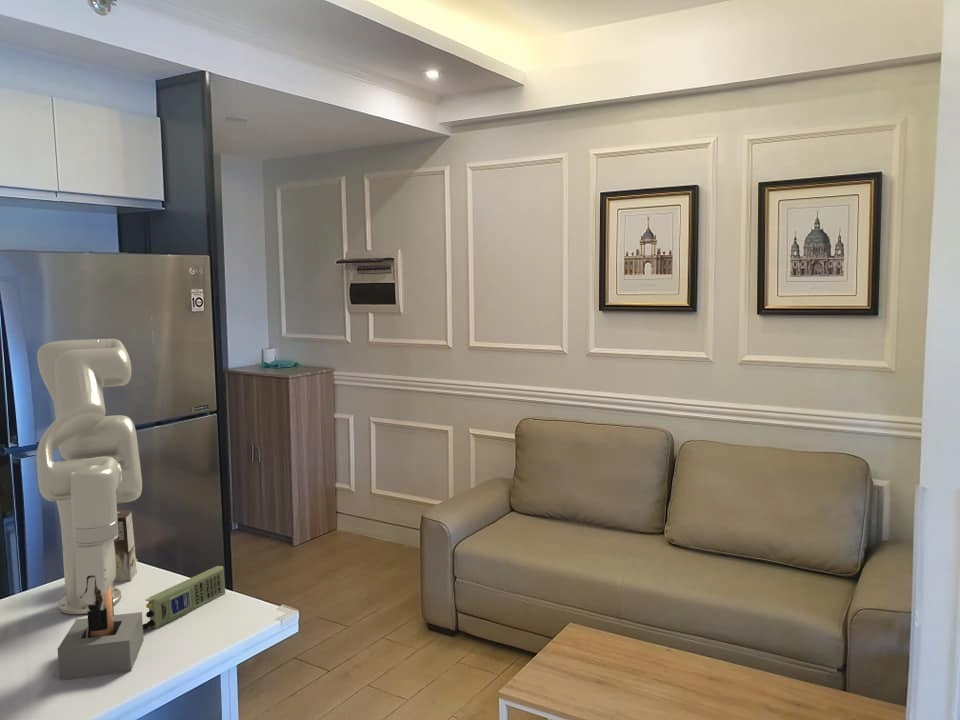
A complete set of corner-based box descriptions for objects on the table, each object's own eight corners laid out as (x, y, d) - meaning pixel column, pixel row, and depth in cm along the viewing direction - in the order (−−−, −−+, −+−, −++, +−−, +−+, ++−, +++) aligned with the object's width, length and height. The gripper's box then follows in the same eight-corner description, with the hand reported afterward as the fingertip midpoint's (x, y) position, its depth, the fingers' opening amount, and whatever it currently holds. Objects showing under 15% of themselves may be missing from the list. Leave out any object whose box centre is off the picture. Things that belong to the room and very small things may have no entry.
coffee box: (137, 571, 182) (134, 509, 180) (130, 581, 175) (127, 517, 174) (98, 574, 180) (94, 511, 178) (89, 584, 173) (85, 519, 172)
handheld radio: (227, 594, 168) (135, 642, 146) (217, 592, 170) (124, 639, 147) (225, 566, 168) (133, 610, 145) (215, 564, 169) (121, 607, 147)
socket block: (78, 648, 143) (76, 619, 142) (143, 640, 146) (141, 612, 146) (59, 680, 132) (57, 648, 131) (131, 670, 135) (129, 640, 134)
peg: (93, 636, 140) (90, 576, 139) (116, 633, 141) (112, 574, 140) (88, 646, 136) (84, 585, 135) (111, 643, 137) (107, 582, 136)
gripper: (85, 519, 143) (91, 607, 145) (60, 549, 127) (66, 648, 129) (127, 516, 145) (131, 603, 147) (106, 545, 129) (112, 642, 131)
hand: (101, 623), depth 138 cm, fingers closed on peg, 4 cm apart
